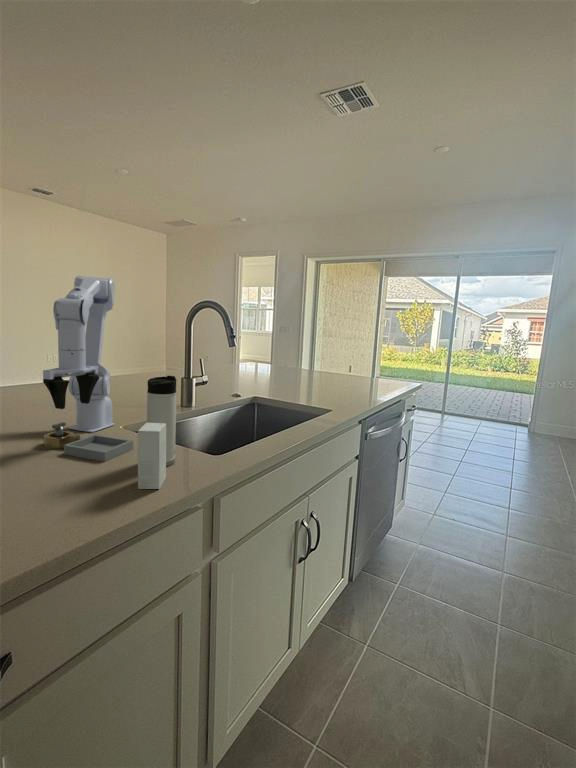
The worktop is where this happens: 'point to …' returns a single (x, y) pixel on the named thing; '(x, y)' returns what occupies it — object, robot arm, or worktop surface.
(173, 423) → the travel mug
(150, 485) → the skincare box
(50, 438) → the ring
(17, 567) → the worktop surface
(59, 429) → the bolt
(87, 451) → the tray
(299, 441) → the worktop surface
